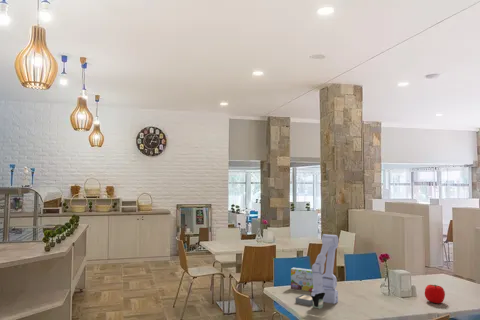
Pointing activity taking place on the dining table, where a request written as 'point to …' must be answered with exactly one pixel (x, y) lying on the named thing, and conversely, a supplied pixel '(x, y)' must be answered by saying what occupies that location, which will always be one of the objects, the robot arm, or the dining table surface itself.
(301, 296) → the tan wooden block
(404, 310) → the dining table surface
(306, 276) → the snack box
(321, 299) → the green banded cube
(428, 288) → the tomato
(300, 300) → the gray square tray
